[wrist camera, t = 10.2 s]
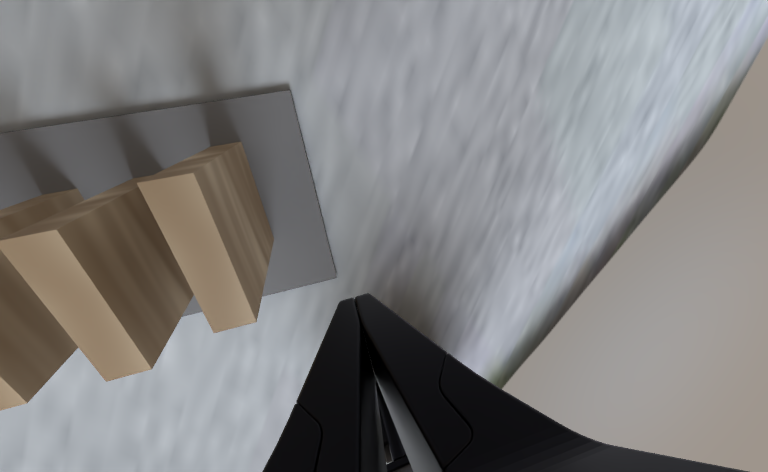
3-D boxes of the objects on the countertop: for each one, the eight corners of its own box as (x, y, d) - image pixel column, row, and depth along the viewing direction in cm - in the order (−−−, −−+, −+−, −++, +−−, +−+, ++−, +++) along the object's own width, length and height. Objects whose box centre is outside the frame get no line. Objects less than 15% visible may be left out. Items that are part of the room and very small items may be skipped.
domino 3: (241, 141, 16) (193, 172, 9) (274, 239, 19) (256, 321, 12) (210, 146, 16) (136, 183, 9) (247, 245, 19) (214, 333, 12)
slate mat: (290, 90, 16) (289, 90, 16) (336, 274, 22) (336, 277, 21) (-323, 181, 12) (-341, 184, 12) (-85, 379, 18) (-93, 385, 17)
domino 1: (77, 188, 15) (-115, 263, 8) (135, 284, 18) (27, 403, 11) (41, 194, 15) (-188, 277, 8) (106, 291, 18) (-24, 417, 11)
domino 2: (165, 172, 16) (56, 229, 9) (209, 267, 19) (151, 369, 12) (132, 178, 16) (-7, 241, 9) (181, 273, 18) (106, 381, 11)
